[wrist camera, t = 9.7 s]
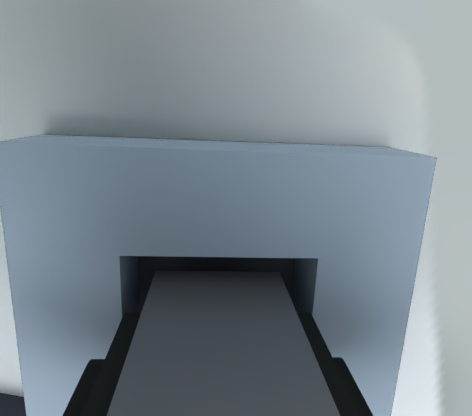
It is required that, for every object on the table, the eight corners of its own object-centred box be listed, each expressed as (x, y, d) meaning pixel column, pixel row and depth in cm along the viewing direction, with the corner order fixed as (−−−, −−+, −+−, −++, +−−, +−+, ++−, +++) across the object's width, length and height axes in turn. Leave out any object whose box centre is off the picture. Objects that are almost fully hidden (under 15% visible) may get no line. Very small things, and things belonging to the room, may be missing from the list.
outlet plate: (42, 134, 13) (-8, 142, 10) (387, 146, 13) (436, 157, 11) (69, 426, 16) (36, 498, 13) (348, 420, 16) (378, 487, 14)
